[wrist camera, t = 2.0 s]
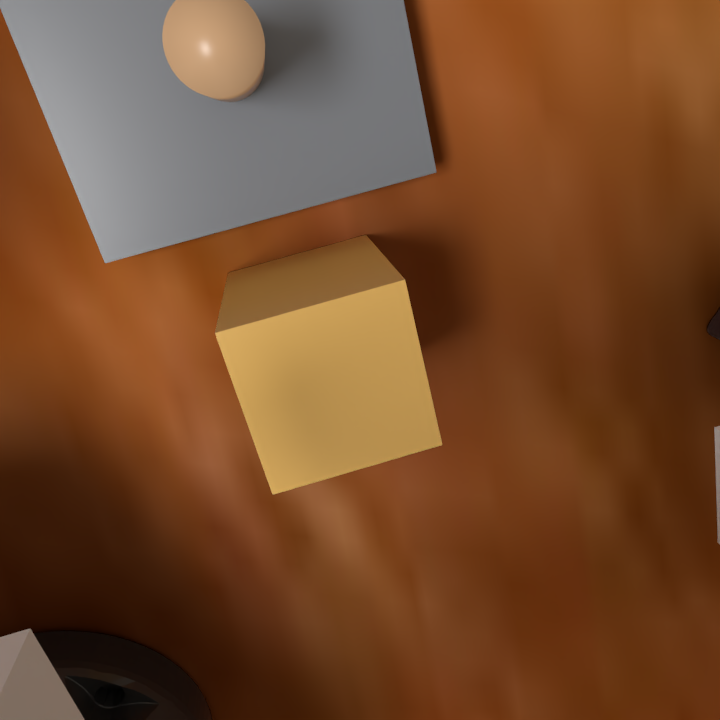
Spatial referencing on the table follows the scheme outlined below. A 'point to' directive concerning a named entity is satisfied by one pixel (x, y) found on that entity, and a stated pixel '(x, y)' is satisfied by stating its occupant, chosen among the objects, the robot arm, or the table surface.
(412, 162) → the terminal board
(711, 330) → the box
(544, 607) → the table surface
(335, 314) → the tan rectangular block
